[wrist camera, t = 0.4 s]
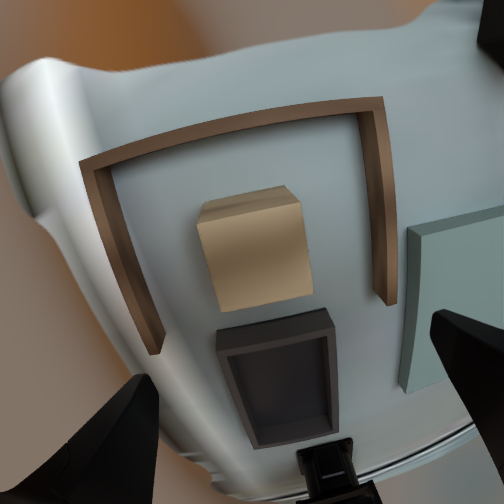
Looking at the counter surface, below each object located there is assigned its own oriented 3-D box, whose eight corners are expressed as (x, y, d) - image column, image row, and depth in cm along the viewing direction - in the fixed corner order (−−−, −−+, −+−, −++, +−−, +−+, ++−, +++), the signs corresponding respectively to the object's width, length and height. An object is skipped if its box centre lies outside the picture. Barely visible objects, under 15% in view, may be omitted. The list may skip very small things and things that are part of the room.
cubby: (383, 287, 22) (397, 303, 20) (156, 334, 22) (149, 355, 20) (365, 99, 17) (382, 96, 15) (95, 157, 17) (78, 161, 15)
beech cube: (296, 257, 21) (313, 293, 16) (223, 273, 21) (221, 313, 16) (283, 185, 19) (300, 202, 14) (205, 201, 19) (196, 224, 15)
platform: (485, 343, 26) (495, 353, 24) (397, 381, 26) (405, 394, 25) (508, 204, 20) (523, 210, 18) (407, 227, 20) (421, 236, 19)
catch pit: (332, 413, 27) (339, 432, 25) (252, 430, 27) (253, 449, 25) (325, 307, 22) (335, 326, 20) (216, 330, 23) (215, 351, 20)
